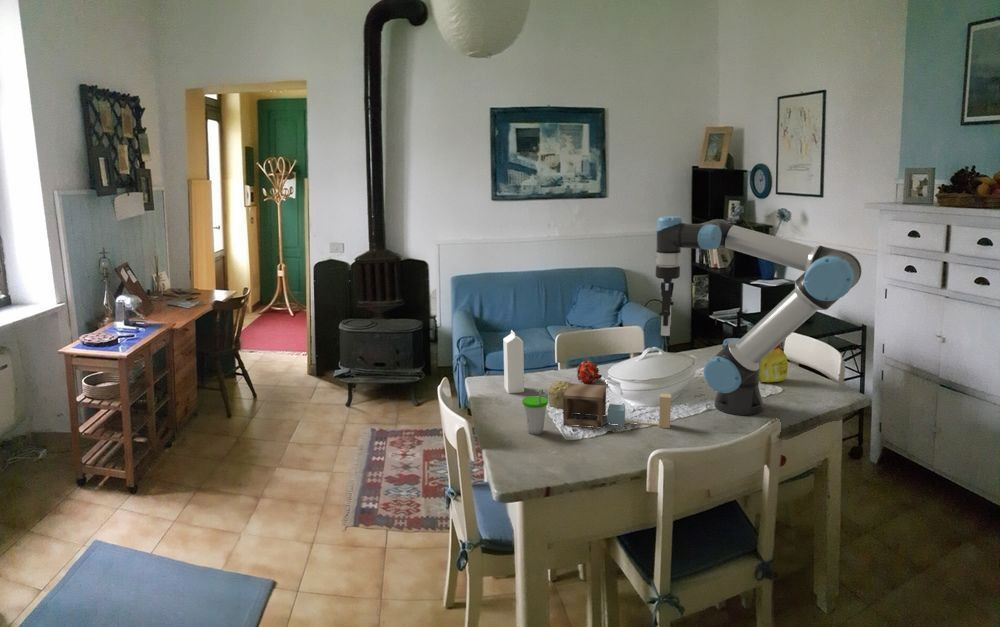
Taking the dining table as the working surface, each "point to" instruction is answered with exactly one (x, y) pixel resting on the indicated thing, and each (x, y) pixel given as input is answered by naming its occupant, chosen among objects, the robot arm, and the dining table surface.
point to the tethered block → (618, 417)
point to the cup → (535, 413)
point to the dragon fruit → (588, 372)
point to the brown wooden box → (584, 404)
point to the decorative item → (557, 393)
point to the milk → (513, 364)
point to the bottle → (773, 366)
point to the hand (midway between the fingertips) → (665, 330)
